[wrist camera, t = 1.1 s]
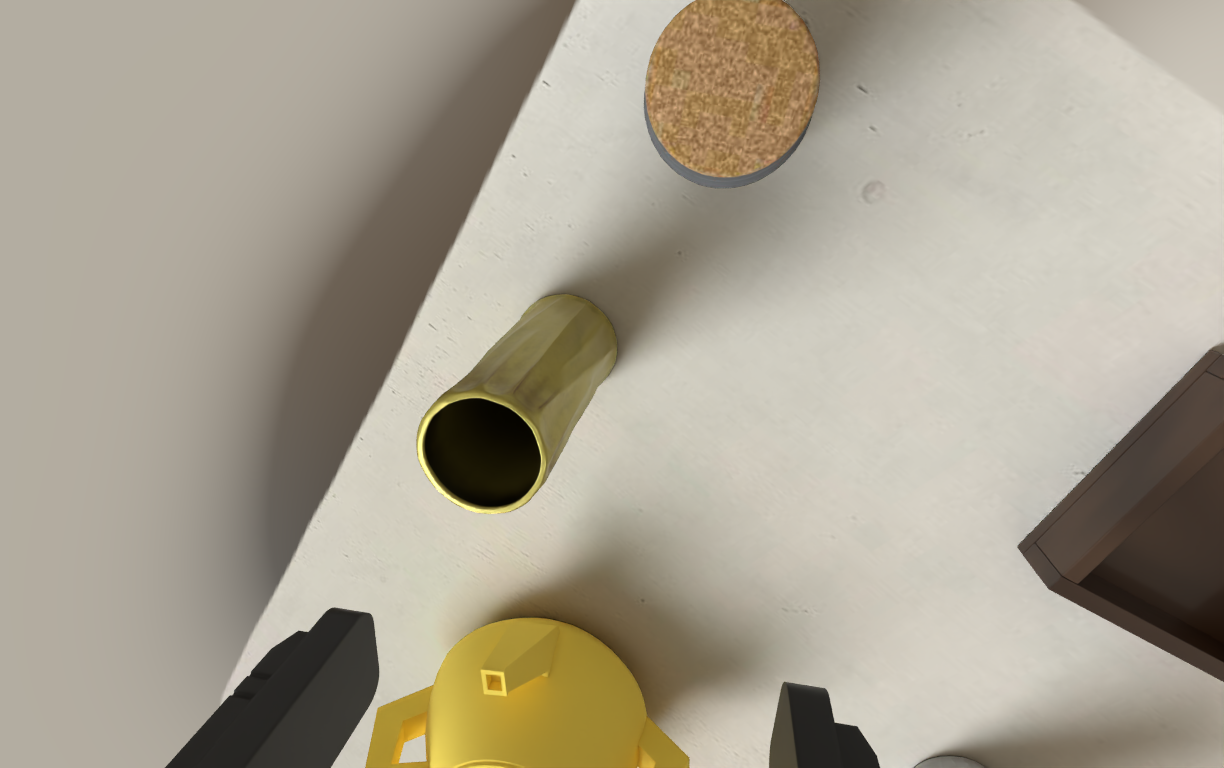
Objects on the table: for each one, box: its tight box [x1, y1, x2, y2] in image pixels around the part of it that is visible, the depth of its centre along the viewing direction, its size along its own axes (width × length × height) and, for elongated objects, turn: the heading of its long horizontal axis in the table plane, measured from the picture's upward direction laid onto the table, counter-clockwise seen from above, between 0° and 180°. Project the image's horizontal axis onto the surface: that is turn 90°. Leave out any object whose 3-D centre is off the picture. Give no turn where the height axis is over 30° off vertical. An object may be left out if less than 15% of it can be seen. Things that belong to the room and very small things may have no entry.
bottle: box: [644, 0, 820, 188], centre depth 24 cm, size 6×6×15 cm
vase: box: [417, 294, 617, 514], centre depth 30 cm, size 6×6×14 cm
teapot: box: [365, 618, 689, 768], centre depth 41 cm, size 17×17×12 cm
